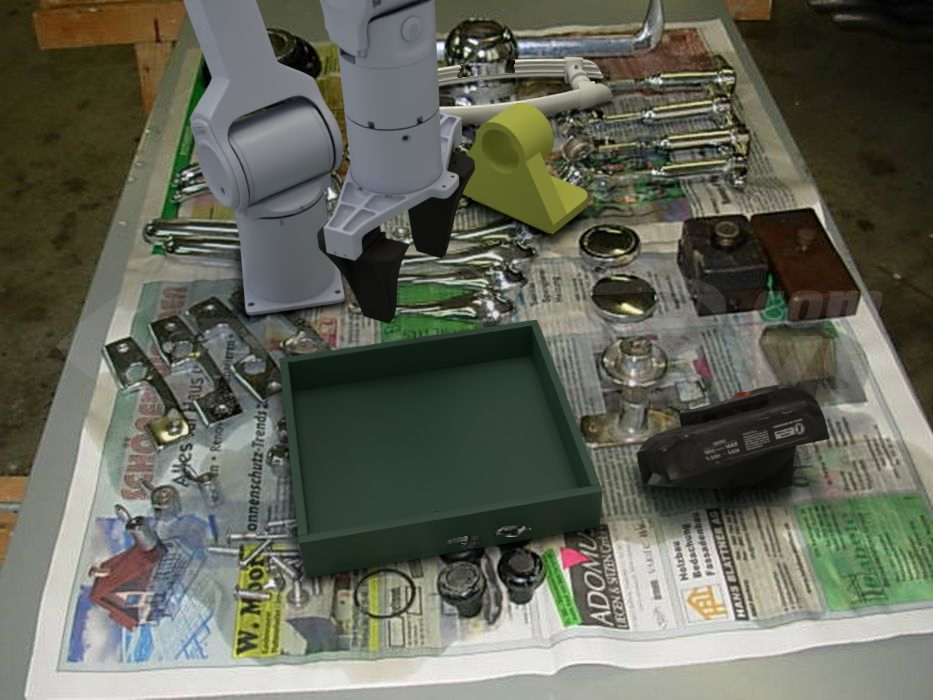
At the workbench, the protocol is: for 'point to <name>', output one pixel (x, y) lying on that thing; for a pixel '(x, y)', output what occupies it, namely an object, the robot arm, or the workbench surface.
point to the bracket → (521, 171)
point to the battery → (736, 442)
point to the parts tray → (432, 447)
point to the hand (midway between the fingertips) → (405, 283)
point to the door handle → (579, 98)
